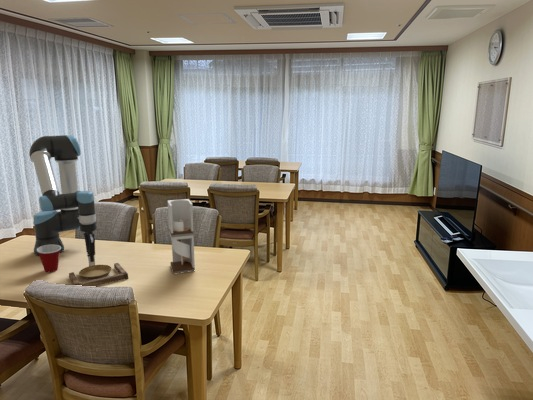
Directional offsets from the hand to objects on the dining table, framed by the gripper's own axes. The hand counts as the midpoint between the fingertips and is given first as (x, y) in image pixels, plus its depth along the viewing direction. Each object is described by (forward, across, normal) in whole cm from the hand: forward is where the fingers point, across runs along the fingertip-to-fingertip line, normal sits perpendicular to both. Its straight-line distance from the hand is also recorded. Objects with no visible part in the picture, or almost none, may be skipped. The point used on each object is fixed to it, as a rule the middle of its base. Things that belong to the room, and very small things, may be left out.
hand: (92, 266), depth 198 cm
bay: (+1, +14, 0) cm, 14 cm away
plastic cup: (+2, -10, -17) cm, 20 cm away
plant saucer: (+2, +8, 0) cm, 8 cm away
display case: (+2, +25, +38) cm, 45 cm away
